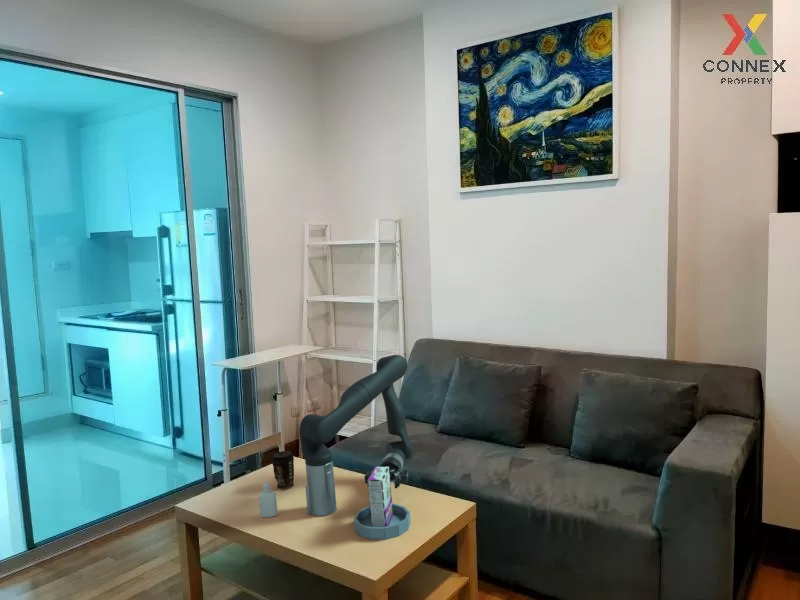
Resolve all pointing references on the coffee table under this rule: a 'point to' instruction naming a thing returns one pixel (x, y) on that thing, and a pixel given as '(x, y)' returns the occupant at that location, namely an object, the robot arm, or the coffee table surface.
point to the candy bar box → (380, 497)
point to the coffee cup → (283, 469)
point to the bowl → (394, 529)
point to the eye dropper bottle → (267, 502)
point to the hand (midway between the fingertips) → (382, 485)
